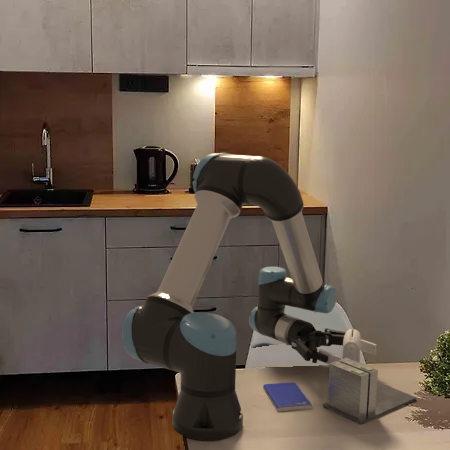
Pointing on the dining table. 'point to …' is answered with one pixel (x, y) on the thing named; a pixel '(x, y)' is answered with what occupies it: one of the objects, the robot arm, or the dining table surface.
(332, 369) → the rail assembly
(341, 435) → the dining table surface
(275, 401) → the hard drive
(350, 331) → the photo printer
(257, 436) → the dining table surface
